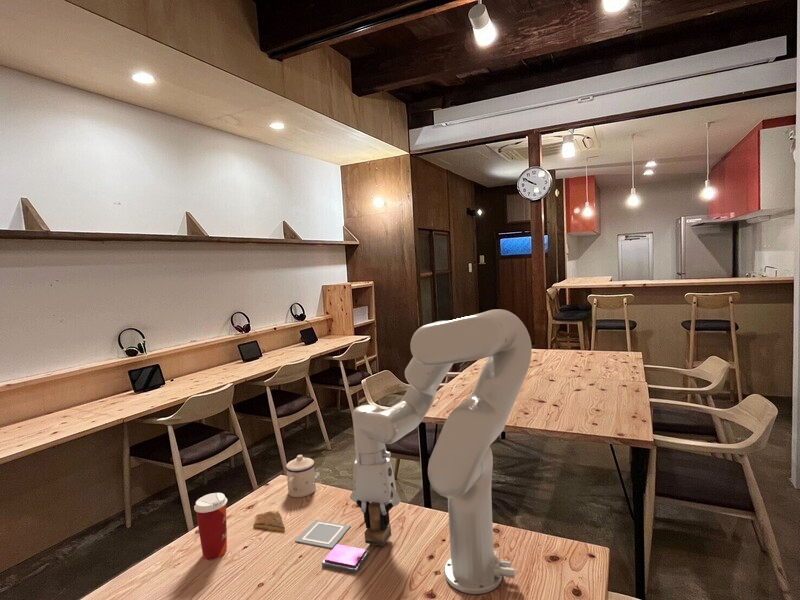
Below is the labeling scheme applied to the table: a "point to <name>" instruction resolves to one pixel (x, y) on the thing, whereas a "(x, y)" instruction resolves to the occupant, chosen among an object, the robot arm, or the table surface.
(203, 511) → the paper cup
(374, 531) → the stamp
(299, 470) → the teacup with lid
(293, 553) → the table surface
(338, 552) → the ink pad
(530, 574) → the table surface
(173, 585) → the table surface
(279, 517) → the shard
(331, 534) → the marked card
